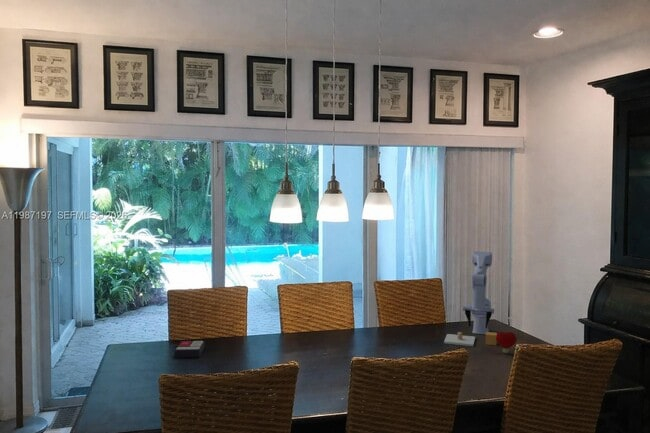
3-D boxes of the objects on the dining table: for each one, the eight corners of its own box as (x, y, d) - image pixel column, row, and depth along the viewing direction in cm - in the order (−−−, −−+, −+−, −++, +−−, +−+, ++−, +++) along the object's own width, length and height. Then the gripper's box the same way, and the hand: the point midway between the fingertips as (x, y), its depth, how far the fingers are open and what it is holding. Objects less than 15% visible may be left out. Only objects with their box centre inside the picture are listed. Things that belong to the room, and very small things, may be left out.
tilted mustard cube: (486, 341, 267) (486, 331, 267) (496, 342, 266) (496, 332, 266) (485, 344, 263) (485, 334, 262) (496, 345, 261) (496, 335, 261)
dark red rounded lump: (514, 351, 252) (514, 330, 251) (518, 356, 245) (518, 334, 244) (493, 350, 253) (494, 330, 252) (497, 355, 246) (497, 334, 245)
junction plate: (447, 335, 277) (447, 327, 277) (475, 338, 273) (475, 330, 272) (444, 343, 264) (444, 335, 264) (473, 346, 259) (473, 337, 259)
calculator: (204, 340, 254) (199, 348, 239) (204, 349, 254) (199, 357, 240) (181, 340, 254) (174, 348, 239) (181, 349, 254) (174, 358, 239)
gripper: (462, 299, 255) (461, 327, 256) (494, 301, 250) (493, 330, 251) (463, 296, 262) (463, 323, 262) (494, 298, 257) (494, 326, 258)
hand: (478, 326), depth 257 cm, fingers open, 7 cm apart
